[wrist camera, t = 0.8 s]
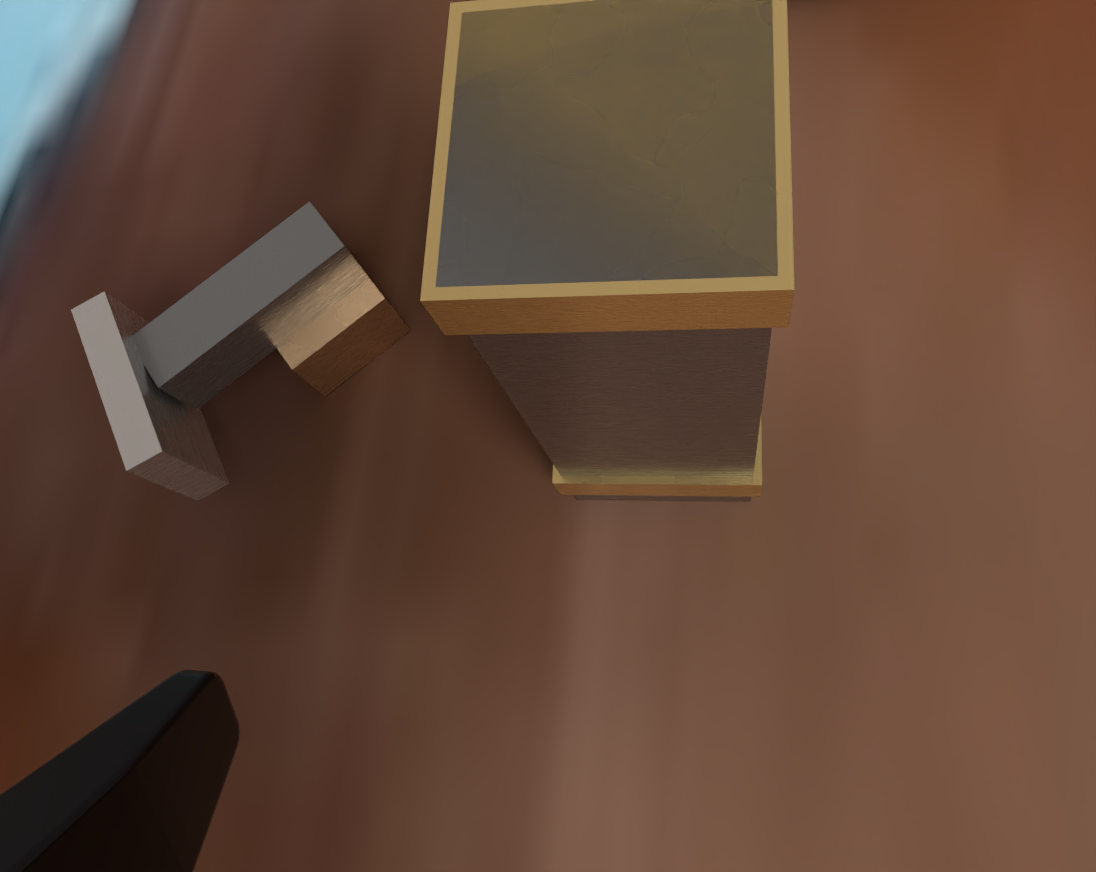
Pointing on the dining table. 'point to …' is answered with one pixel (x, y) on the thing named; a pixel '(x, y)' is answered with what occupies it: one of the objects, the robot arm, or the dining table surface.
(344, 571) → the dining table surface
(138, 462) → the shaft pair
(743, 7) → the block
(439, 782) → the dining table surface
